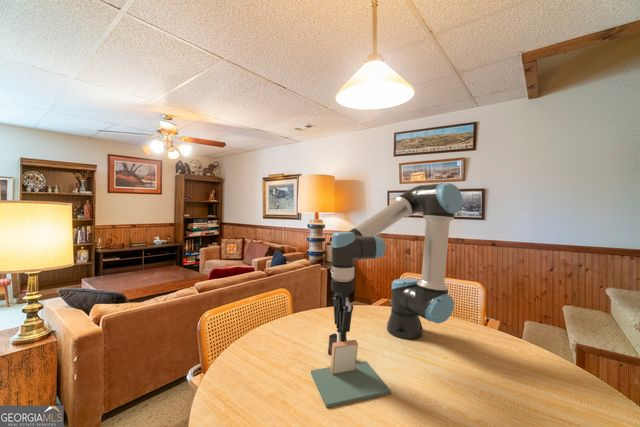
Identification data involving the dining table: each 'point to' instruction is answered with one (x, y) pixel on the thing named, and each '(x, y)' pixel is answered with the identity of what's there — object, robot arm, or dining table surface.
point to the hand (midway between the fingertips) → (341, 349)
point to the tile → (343, 356)
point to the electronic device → (332, 340)
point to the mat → (349, 385)
